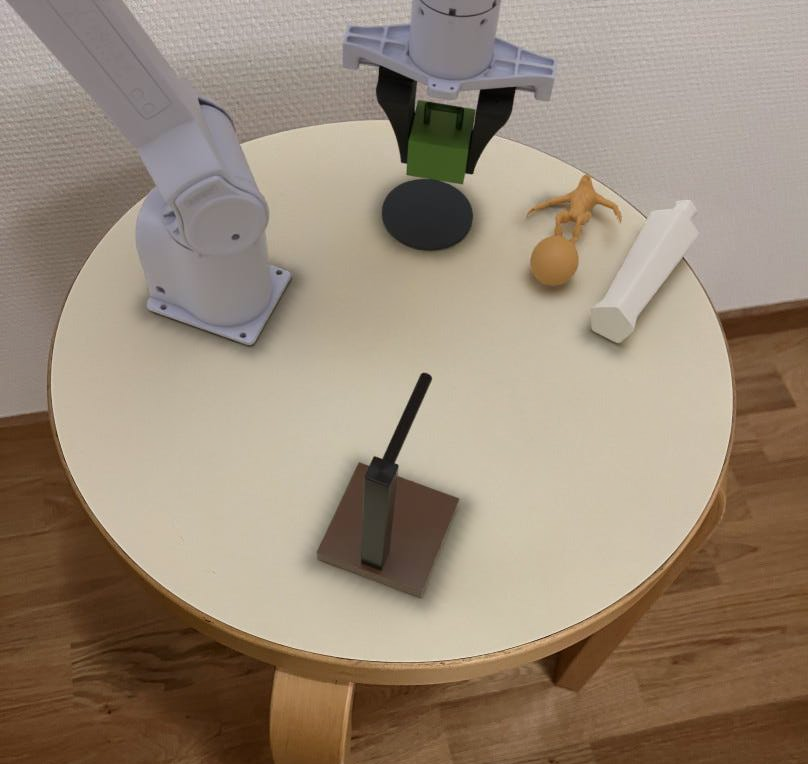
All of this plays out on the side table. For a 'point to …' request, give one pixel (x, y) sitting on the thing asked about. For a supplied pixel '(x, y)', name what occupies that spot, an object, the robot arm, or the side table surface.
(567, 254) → the figurine
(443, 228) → the mat
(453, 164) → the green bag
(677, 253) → the perfume bottle
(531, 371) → the side table surface
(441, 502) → the hook stand
